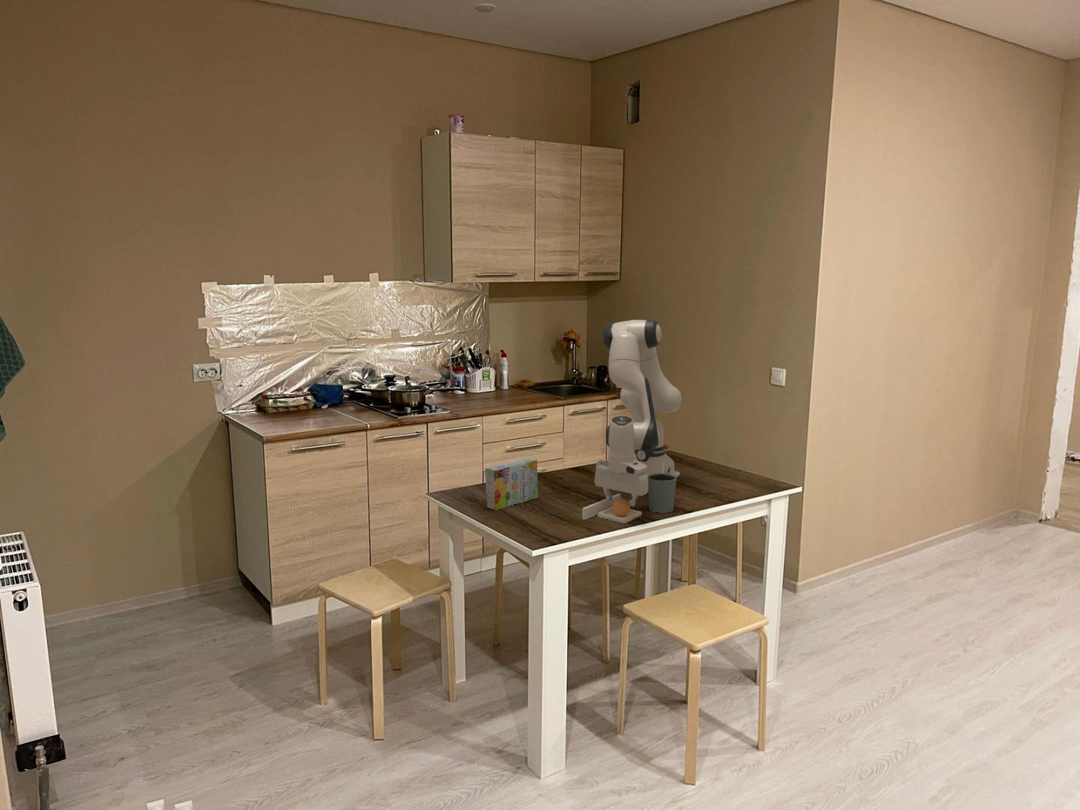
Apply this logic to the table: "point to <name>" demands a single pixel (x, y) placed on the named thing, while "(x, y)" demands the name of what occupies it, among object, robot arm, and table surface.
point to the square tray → (624, 519)
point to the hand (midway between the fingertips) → (620, 502)
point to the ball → (621, 507)
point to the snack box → (511, 483)
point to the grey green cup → (661, 492)
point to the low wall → (598, 507)
